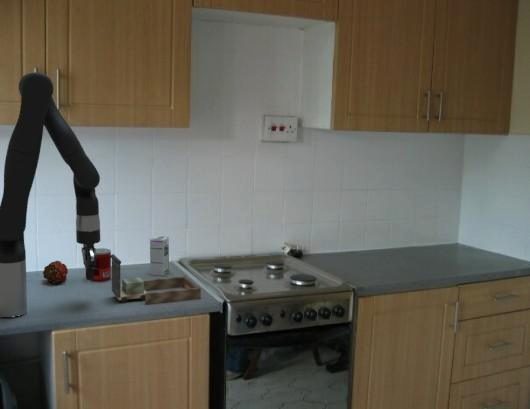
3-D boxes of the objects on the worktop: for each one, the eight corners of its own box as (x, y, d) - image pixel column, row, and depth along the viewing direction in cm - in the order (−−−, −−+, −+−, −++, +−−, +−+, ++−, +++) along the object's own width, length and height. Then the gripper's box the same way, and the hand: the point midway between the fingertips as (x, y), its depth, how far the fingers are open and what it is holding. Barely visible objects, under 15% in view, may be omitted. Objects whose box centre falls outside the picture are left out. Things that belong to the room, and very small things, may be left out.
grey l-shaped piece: (117, 303, 211) (117, 260, 209) (110, 296, 219) (110, 254, 217) (148, 300, 216) (148, 258, 214) (141, 293, 224) (141, 252, 222)
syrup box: (164, 276, 249) (164, 239, 246) (149, 274, 250) (149, 238, 248) (169, 272, 254) (169, 236, 252) (155, 271, 255) (155, 235, 253)
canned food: (112, 276, 246) (112, 248, 244) (108, 282, 238) (108, 253, 236) (92, 275, 246) (92, 247, 244) (87, 281, 238) (87, 252, 236)
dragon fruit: (54, 291, 230) (53, 286, 241) (73, 276, 232) (72, 272, 244) (38, 272, 228) (39, 269, 240) (58, 257, 230) (58, 254, 242)
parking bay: (146, 305, 212) (146, 294, 211) (133, 292, 227) (133, 281, 226) (200, 299, 221) (200, 288, 220) (184, 286, 235) (184, 276, 234)
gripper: (72, 225, 212) (74, 275, 215) (80, 232, 200) (81, 286, 203) (95, 223, 215) (97, 273, 218) (104, 230, 204) (105, 283, 206)
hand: (89, 279), depth 211 cm, fingers closed
